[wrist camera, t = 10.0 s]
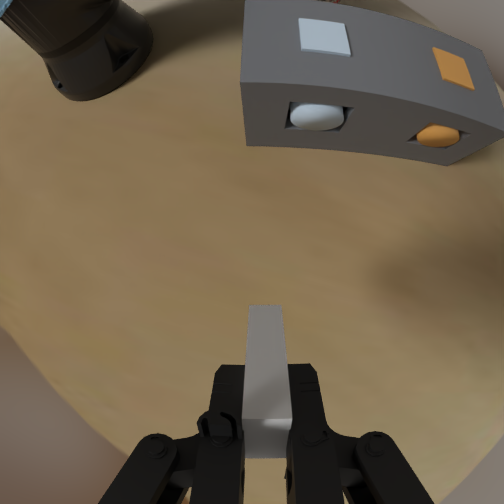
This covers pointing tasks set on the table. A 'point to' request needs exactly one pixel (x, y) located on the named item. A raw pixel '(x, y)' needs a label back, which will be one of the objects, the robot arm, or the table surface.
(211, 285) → the table surface
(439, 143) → the orange button
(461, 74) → the button console
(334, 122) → the pale blue button
